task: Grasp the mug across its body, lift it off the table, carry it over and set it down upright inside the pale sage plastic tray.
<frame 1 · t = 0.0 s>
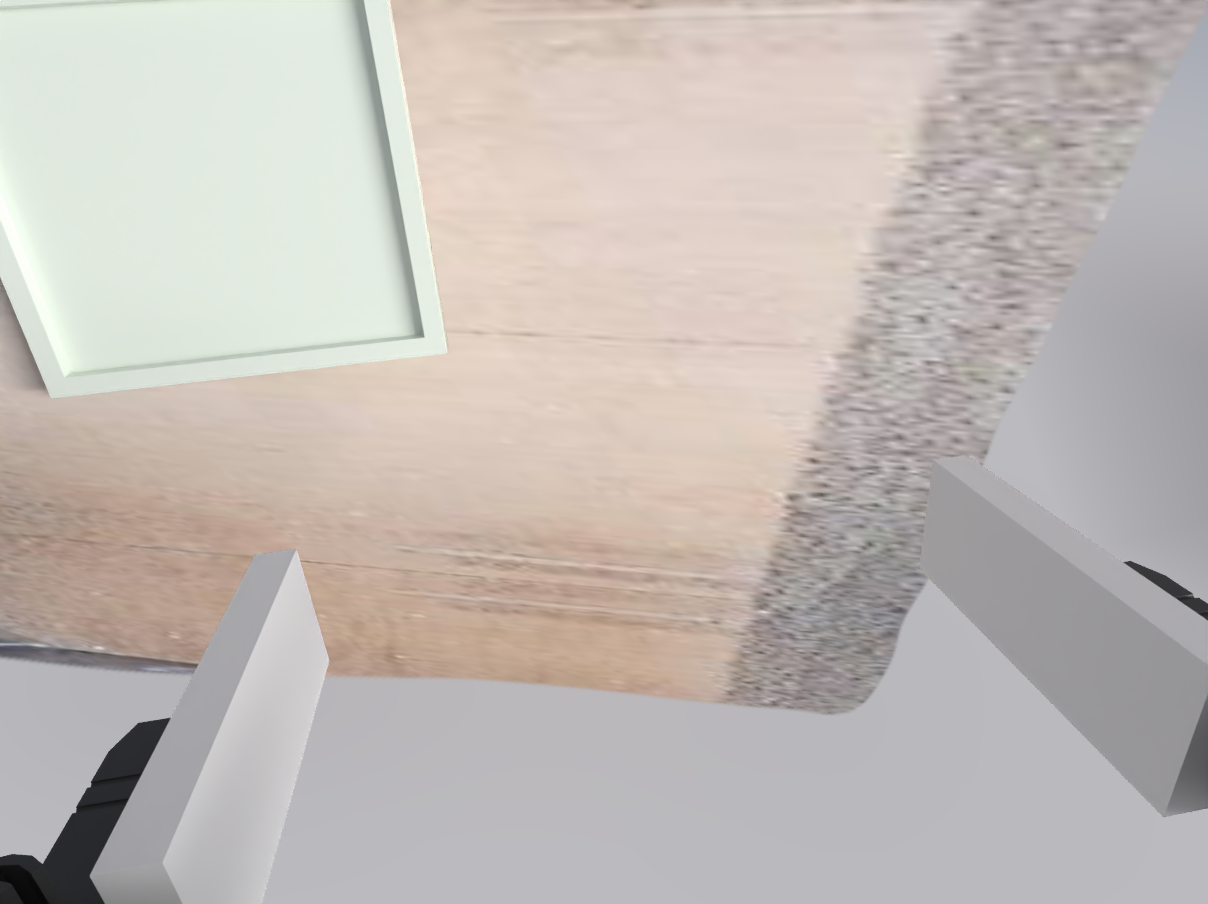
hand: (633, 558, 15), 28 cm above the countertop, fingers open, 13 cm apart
tray: (213, 192, 36), on the countertop
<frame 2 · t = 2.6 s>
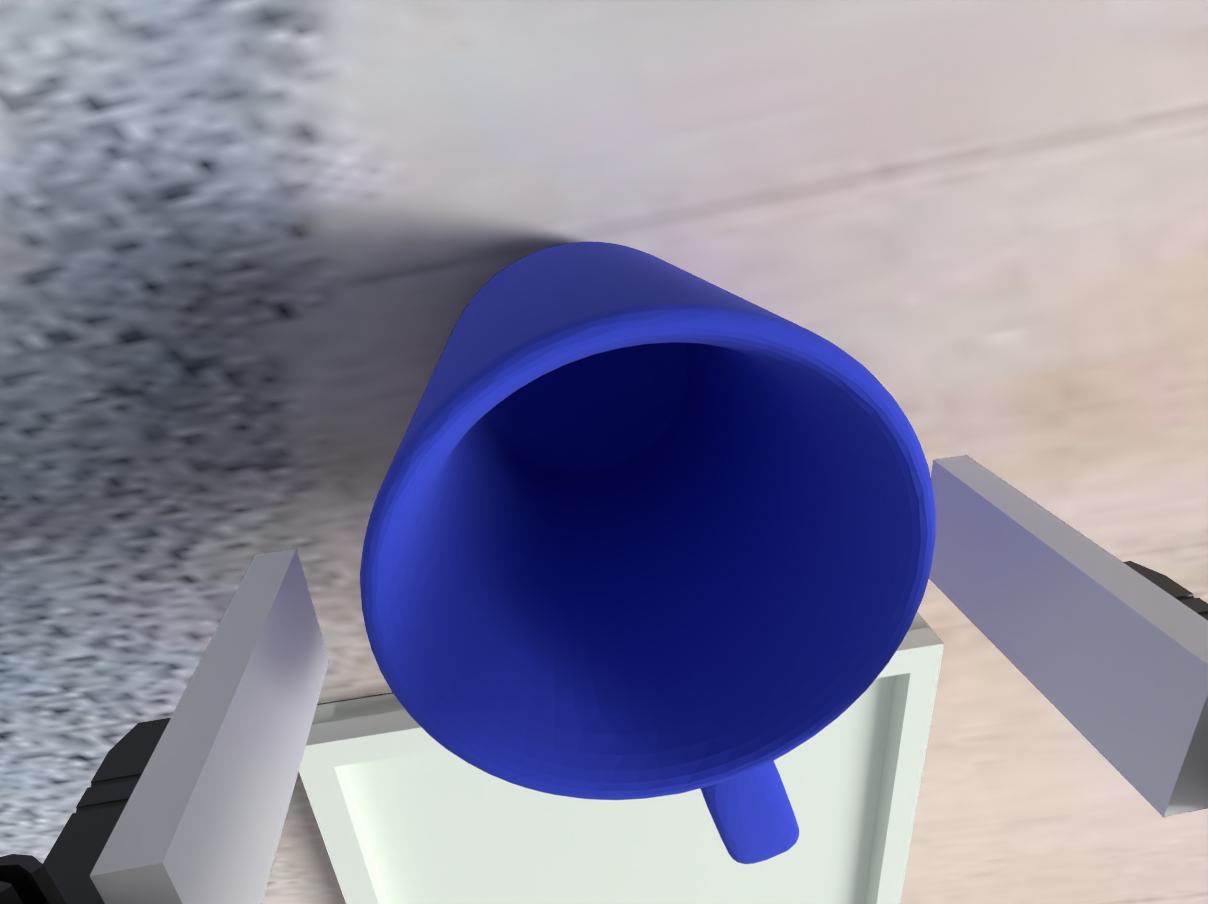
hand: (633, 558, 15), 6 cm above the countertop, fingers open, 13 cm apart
tray: (637, 843, 27), on the countertop
mug: (604, 427, 20), on the countertop
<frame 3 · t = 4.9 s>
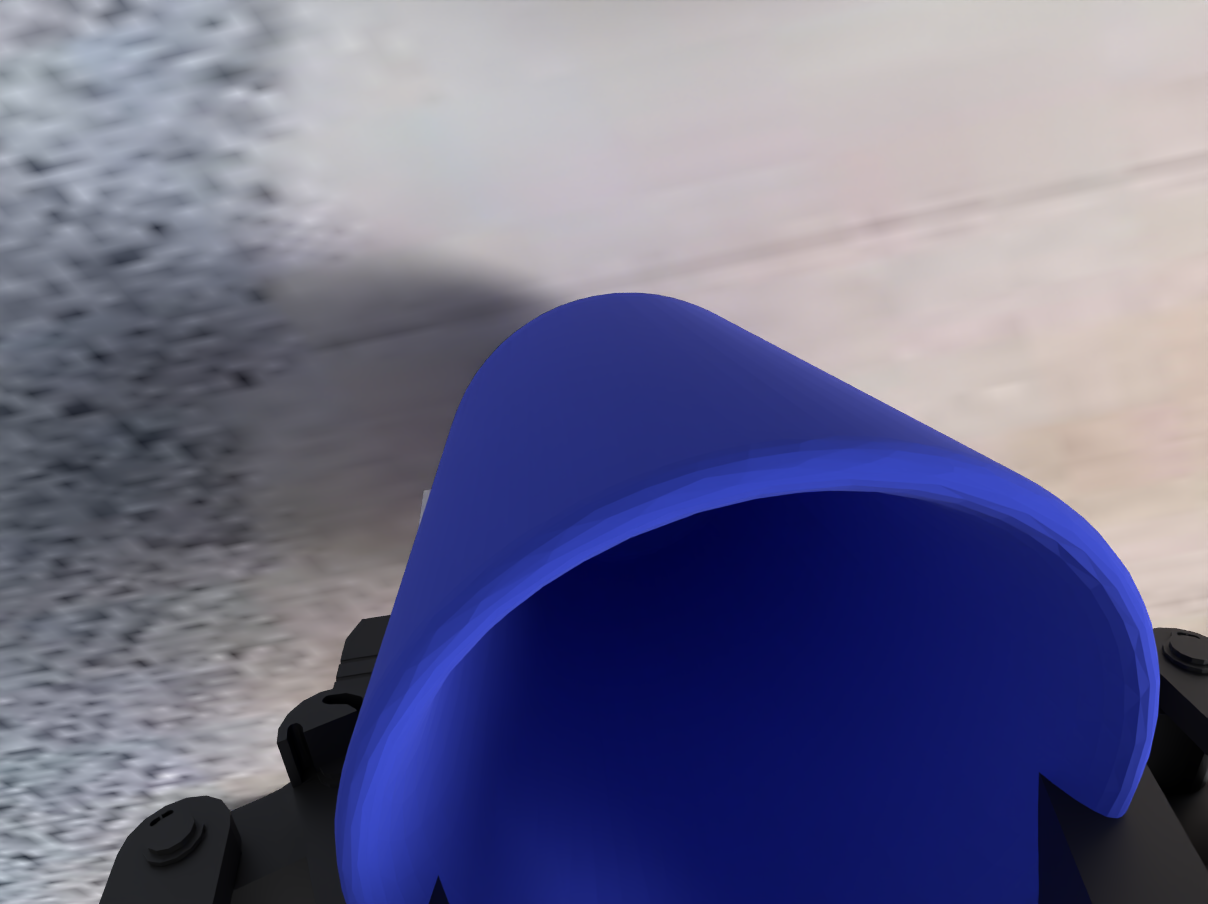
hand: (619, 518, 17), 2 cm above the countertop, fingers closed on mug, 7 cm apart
mug: (637, 503, 17), point 2 cm above the countertop, touching gripper
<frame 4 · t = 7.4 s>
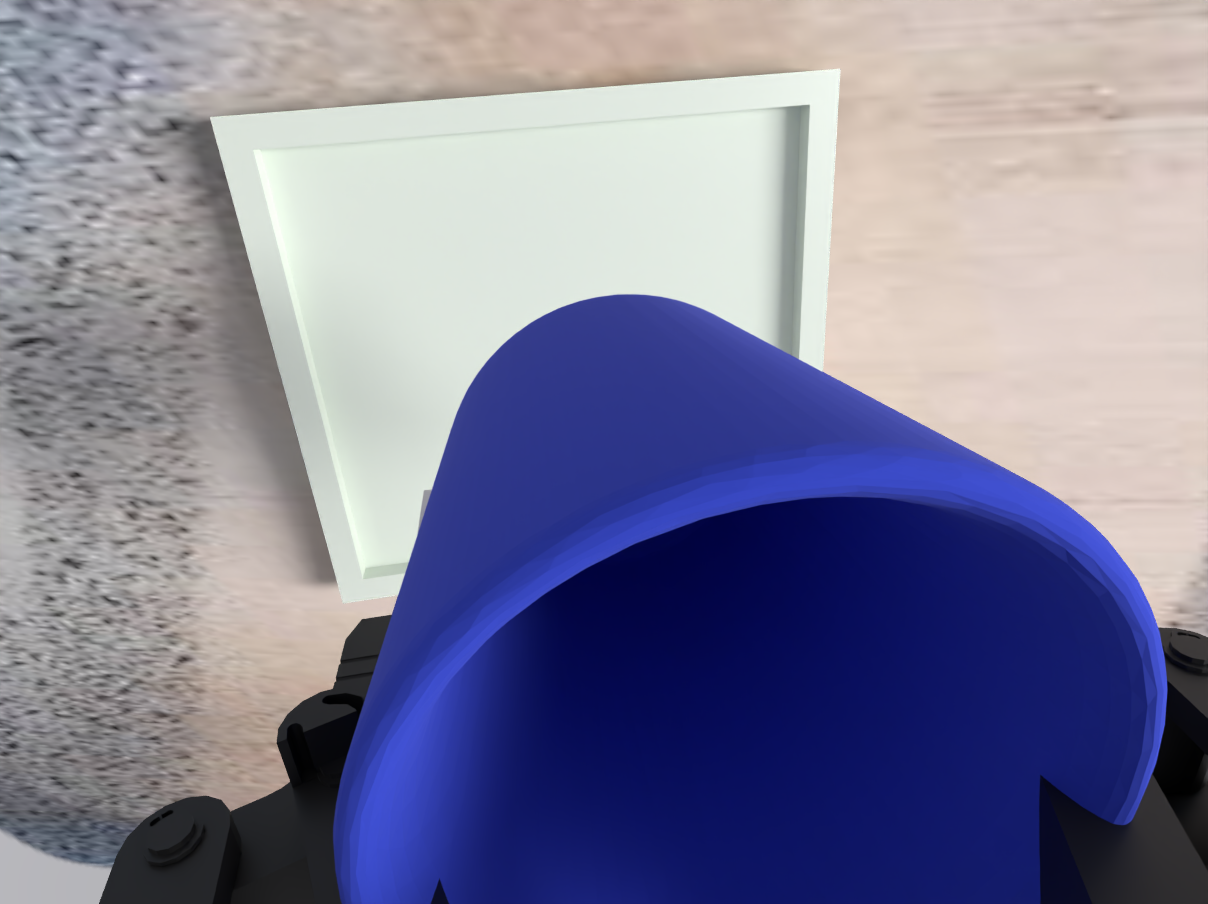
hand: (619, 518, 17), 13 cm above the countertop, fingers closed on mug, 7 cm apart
tray: (562, 350, 28), on the countertop
mug: (637, 505, 17), point 13 cm above the countertop, touching gripper
when the fingers open (2 cm above the countertop, at t = 10.0 s): mug stays where it is, resting on tray.
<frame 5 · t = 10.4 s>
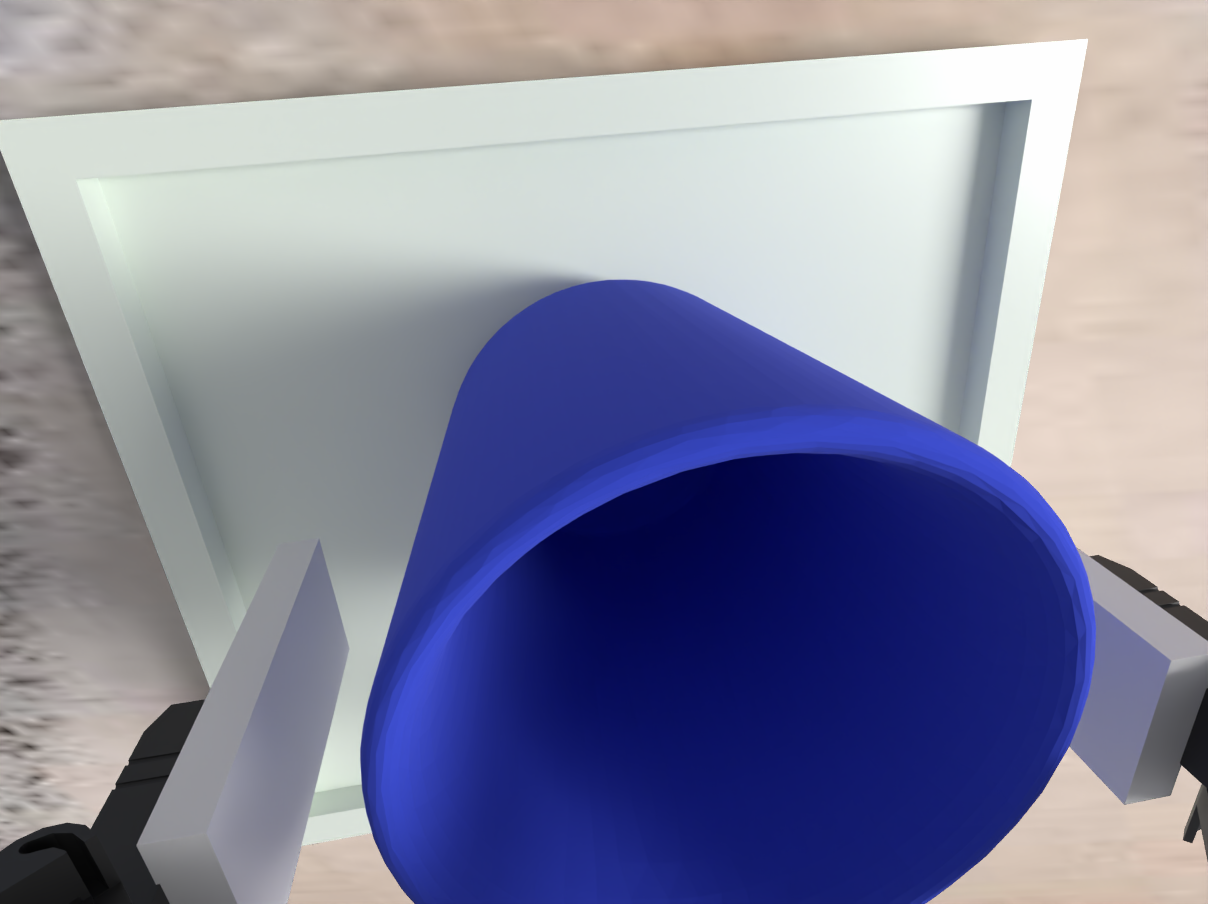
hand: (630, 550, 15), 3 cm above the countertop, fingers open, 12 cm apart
tray: (605, 479, 18), on the countertop
mug: (629, 482, 18), point 1 cm above the countertop, touching tray
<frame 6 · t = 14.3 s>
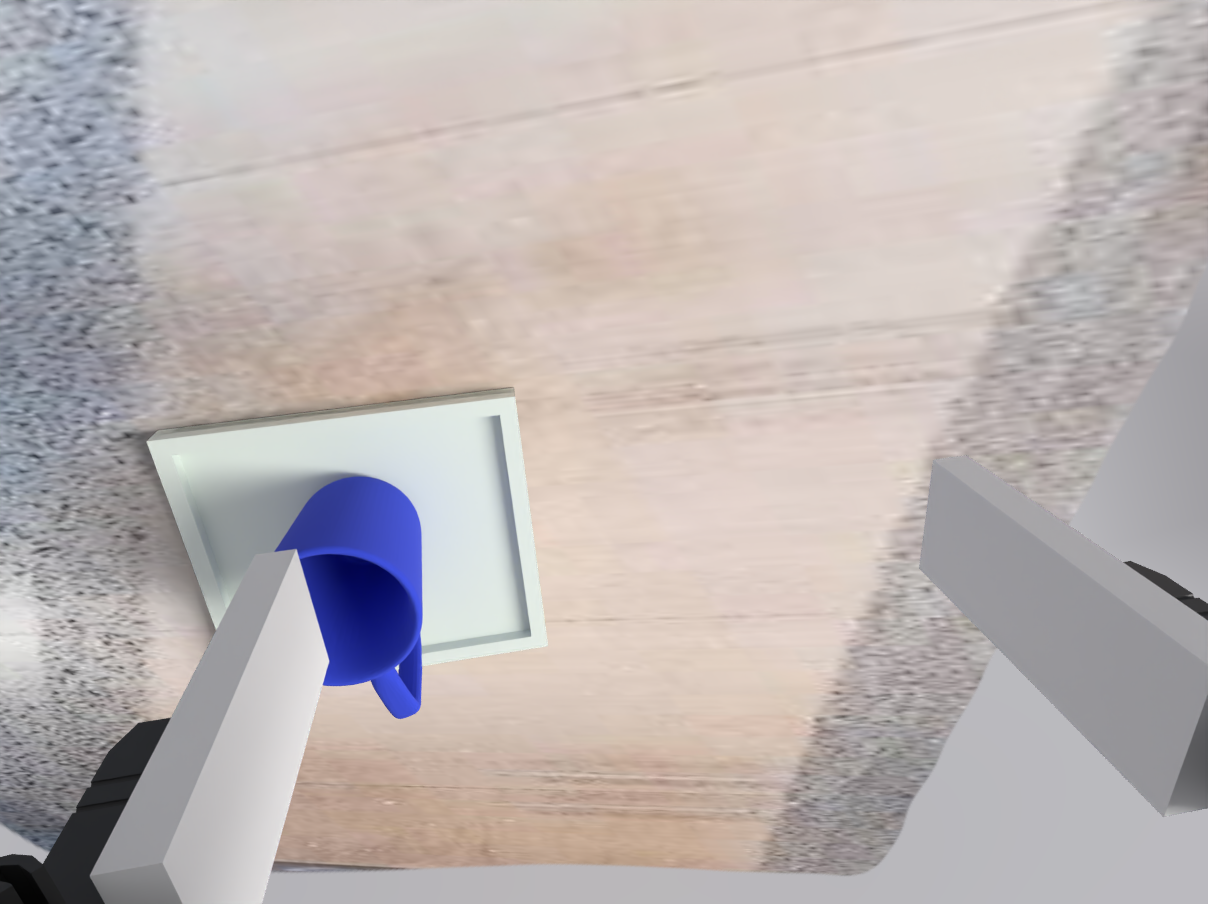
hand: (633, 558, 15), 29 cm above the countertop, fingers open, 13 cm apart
tray: (372, 541, 46), on the countertop
mug: (379, 543, 45), point 1 cm above the countertop, touching tray
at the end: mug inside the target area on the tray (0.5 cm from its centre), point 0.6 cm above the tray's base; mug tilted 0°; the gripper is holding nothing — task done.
